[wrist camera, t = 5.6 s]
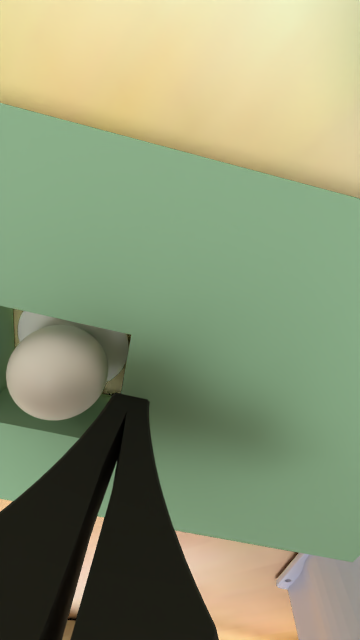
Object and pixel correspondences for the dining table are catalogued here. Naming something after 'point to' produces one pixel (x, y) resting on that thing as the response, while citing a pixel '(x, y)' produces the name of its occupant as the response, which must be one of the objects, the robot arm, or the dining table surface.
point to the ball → (57, 372)
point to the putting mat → (192, 326)
